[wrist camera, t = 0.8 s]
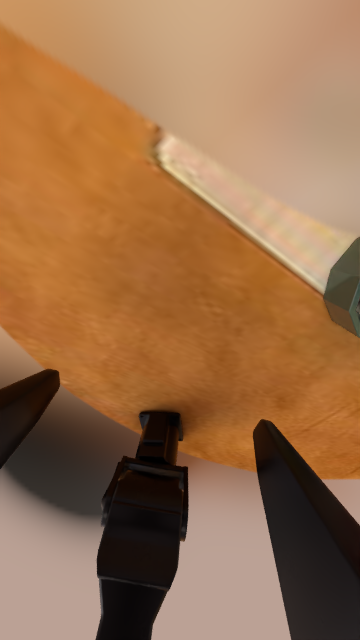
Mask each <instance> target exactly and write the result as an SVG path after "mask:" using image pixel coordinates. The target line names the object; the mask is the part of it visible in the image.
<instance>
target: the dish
mask: <svg viewBox="0 0 360 640" xmlns="http://www.w3.org/2000/svg"><path fill="white" fill-rule="evenodd" d="M323 299H324V302H325V304H326V307H327V309H328V312H329V314H330V316H331V319H332V321H334V322H335V323H337V324H338V325H340V326H341V327H343V328H345V329H346V330H348V331H349V332H351V333H352V334H354V335H355V336H357V337H359V338H360V314H359V313H358V312H357V311H356V308H357V305H358V302H359V300H360V237H359V238H357V239H356V240H355V242H354V243H353V244H352V245H351V246H350V248H349V249H348V250H347V251H346V252H345V253H344V255H343V256H342V257H341V258H340V259H339V261H338V262H337V263H336V264H335V265H334V266H333V268H332V269H331V272H330V275H329V279H328V283H327V287H326V290H325V294H324V298H323Z"/></svg>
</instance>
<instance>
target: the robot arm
mask: <svg viewBox="0 0 360 640" xmlns="http://www.w3.org/2000/svg"><path fill="white" fill-rule="evenodd" d="M59 387H60V378H59V372H58V371H57V370H53V369H46V370H43V371H41V372H39V373H37V374H34V375H32V376H30V377H27V378H25V379H23V380H20V381H18V382H16V383H13V384H11V385H9V386H7V387H4V388H2V389H0V469H1V468H2V467H3V465H4V464H5V463H6V462H7V460H8V459H9V458H10V456H11V455H12V454H13V453H14V451H15V450H16V449H17V448H18V446H19V445H20V444H21V442H22V441H23V440H24V439H25V438H26V436H27V435H28V434H29V432H30V431H31V430H32V429H33V427H34V426H35V424H36V423H37V422H38V420H39V419H40V417H41V415H42V414H43V412H44V411H45V409H46V408H47V406H48V405H49V403H50V402H51V400H52V399H53V397H54V396H55V394H56V393H57V391H58V389H59ZM139 419H140V423H141V426H142V430H143V431H142V435H141V438H140V442H139V446H138V449H137V453H136V457H135V458H129V457H127V456H123V458H122V460H121V462H118V465H117V468H116V471H115V473H114V476H113V479H112V481H111V482H110V484H109V487H108V489H107V490H106V492H105V494H104V496H103V498H102V501H101V506H102V509H103V511H102V520H101V527H105V528H104V531H103V535H102V539H101V542H100V546H99V549H98V555H97V577H98V578H99V587H100V602H101V619H100V624H99V628H98V632H97V636H96V640H151V635H152V627H153V623H154V621H155V618H156V616H157V614H158V612H159V610H160V607H161V605H162V603H163V601H164V598H165V596H166V594H167V592H168V591H169V589H170V587H171V585H172V582H173V580H174V577H175V574H176V571H177V568H178V559H179V546H180V541H183V542H184V541H185V538H186V532H187V522H188V467H186V466H184V467H181V466H176V462H177V451H178V441H183V431H182V423H181V415H180V414H179V413H167V412H141V413H140V414H139ZM253 441H254V449H255V458H256V467H257V474H258V480H259V485H260V490H261V495H262V500H263V505H264V509H265V514H266V519H267V524H268V529H269V533H270V539H271V543H272V548H273V553H274V558H275V563H276V567H277V572H278V577H279V582H280V587H281V592H282V597H283V602H284V607H285V611H286V616H287V621H288V625H289V631H290V636H291V640H360V525H359V524H358V523H357V522H356V521H355V519H354V518H353V517H352V516H351V515H350V514H349V512H348V511H347V510H346V509H345V508H344V506H343V505H342V504H341V503H340V502H339V501H338V499H337V498H336V497H335V496H334V495H333V493H332V492H331V491H330V490H329V489H328V488H327V486H326V485H325V484H324V483H323V482H322V480H321V479H320V478H319V477H318V476H317V474H316V473H315V472H314V471H313V470H312V469H311V467H310V466H309V465H308V464H307V463H306V462H305V460H304V459H303V458H302V457H301V456H300V454H299V453H298V452H297V451H296V450H295V449H294V447H293V446H292V445H291V444H290V443H289V441H288V440H287V439H286V438H285V437H284V436H283V434H282V433H281V432H280V431H279V430H278V429H277V427H276V426H275V425H274V424H273V423H272V422H271V421H268V420H264V419H261V420H260V421H259V423H258V424H257V426H256V427H255V429H254V431H253Z"/></svg>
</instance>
